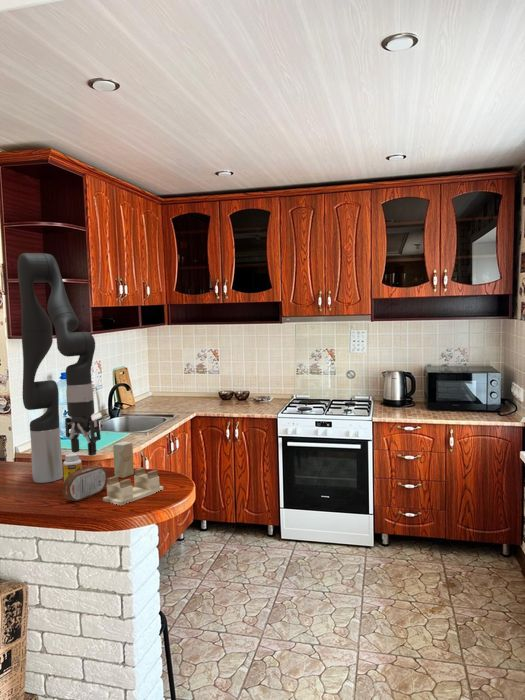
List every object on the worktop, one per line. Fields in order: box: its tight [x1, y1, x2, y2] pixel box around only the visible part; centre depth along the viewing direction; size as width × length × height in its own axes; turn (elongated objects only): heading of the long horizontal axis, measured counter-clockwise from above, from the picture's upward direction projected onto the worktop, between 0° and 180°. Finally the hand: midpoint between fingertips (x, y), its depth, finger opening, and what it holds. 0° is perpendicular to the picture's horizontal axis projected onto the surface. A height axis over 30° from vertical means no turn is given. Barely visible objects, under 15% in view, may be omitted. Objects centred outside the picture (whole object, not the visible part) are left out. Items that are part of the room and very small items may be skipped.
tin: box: [62, 465, 108, 502], centre depth 158 cm, size 15×3×8 cm, turn 150°
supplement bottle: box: [62, 452, 83, 482], centre depth 169 cm, size 6×6×10 cm
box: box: [112, 440, 135, 478], centre depth 179 cm, size 5×4×11 cm
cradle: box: [102, 467, 165, 507], centre depth 157 cm, size 8×16×6 cm, turn 142°
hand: (83, 453), depth 158 cm, fingers open, 8 cm apart
